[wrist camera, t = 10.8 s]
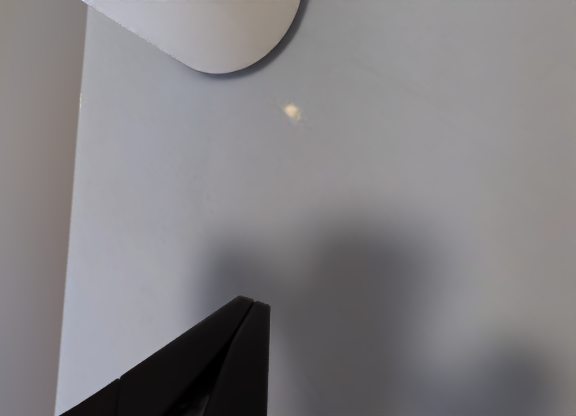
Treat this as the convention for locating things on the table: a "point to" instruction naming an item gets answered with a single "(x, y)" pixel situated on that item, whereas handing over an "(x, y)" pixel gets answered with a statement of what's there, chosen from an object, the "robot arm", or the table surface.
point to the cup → (206, 28)
